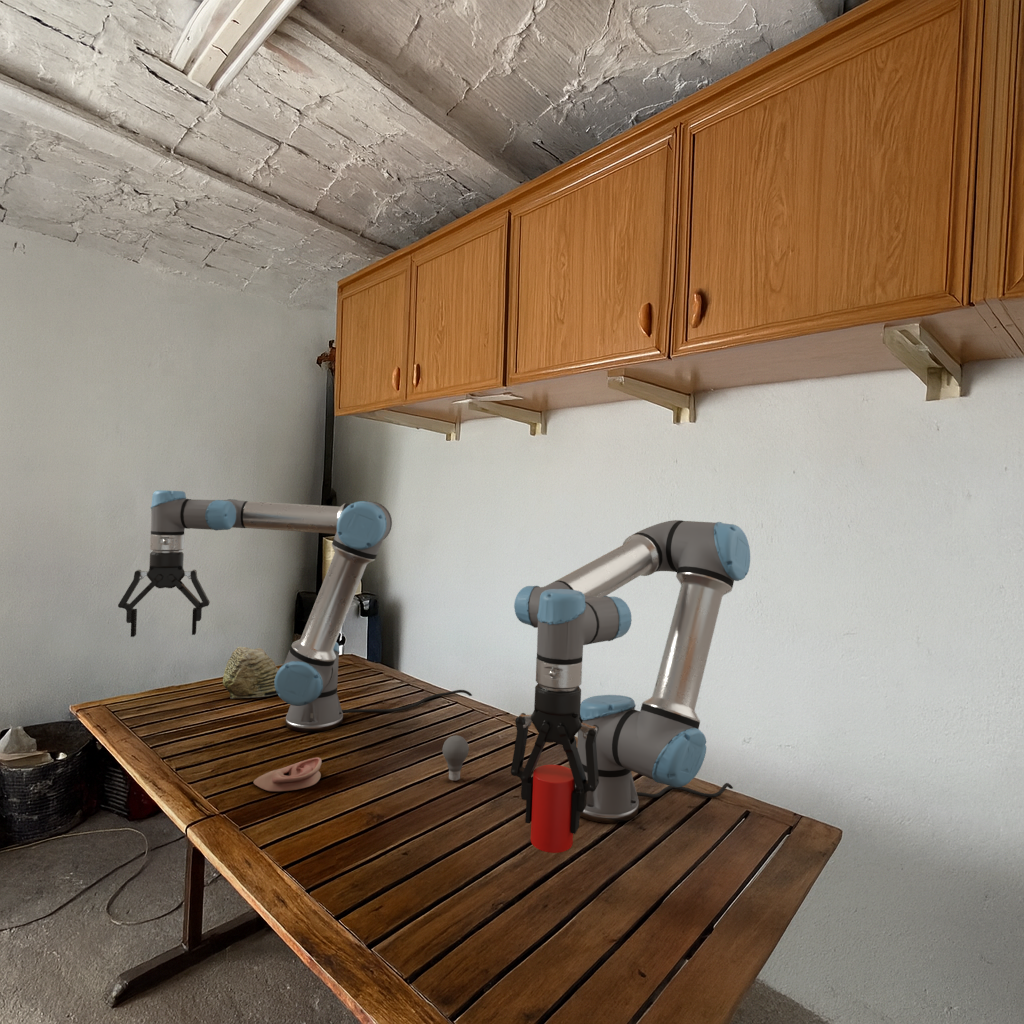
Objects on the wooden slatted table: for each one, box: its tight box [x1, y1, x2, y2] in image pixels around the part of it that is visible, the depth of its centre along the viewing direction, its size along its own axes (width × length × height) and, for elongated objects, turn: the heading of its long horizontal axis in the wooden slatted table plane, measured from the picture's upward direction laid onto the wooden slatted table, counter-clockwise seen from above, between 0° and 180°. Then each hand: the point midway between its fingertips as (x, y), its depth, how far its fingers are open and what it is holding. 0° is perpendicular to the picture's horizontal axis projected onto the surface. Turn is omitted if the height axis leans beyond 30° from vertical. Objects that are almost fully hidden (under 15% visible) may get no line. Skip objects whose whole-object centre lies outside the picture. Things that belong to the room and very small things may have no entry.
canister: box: [530, 764, 575, 854], centre depth 104 cm, size 7×7×11 cm
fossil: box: [222, 646, 279, 699], centre depth 198 cm, size 9×18×15 cm, turn 132°
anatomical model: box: [253, 757, 323, 792], centre depth 140 cm, size 13×4×12 cm
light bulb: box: [442, 734, 470, 782], centre depth 144 cm, size 6×6×10 cm
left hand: (164, 634), depth 161 cm, fingers open, 13 cm apart
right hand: (552, 824), depth 104 cm, fingers closed on canister, 7 cm apart
